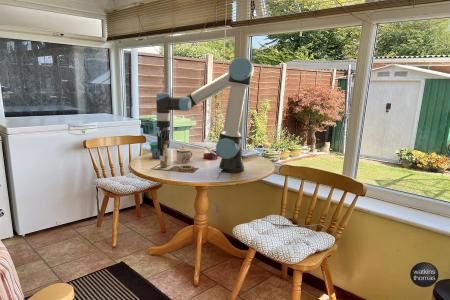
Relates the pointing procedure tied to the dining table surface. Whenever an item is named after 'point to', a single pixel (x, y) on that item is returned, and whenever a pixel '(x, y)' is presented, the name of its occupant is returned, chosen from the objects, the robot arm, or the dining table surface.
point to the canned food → (210, 155)
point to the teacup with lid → (183, 155)
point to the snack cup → (155, 150)
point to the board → (176, 168)
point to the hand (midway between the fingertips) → (163, 159)
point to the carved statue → (164, 163)
